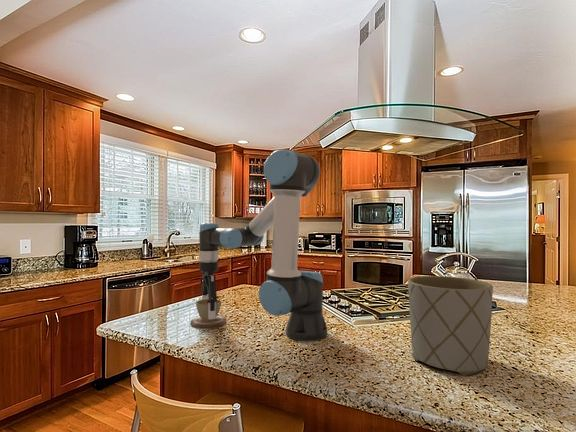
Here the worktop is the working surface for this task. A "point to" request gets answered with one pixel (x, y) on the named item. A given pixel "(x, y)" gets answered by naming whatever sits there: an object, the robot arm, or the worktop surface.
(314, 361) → the worktop surface
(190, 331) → the worktop surface
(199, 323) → the disc
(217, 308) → the flower pot
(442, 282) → the planter
